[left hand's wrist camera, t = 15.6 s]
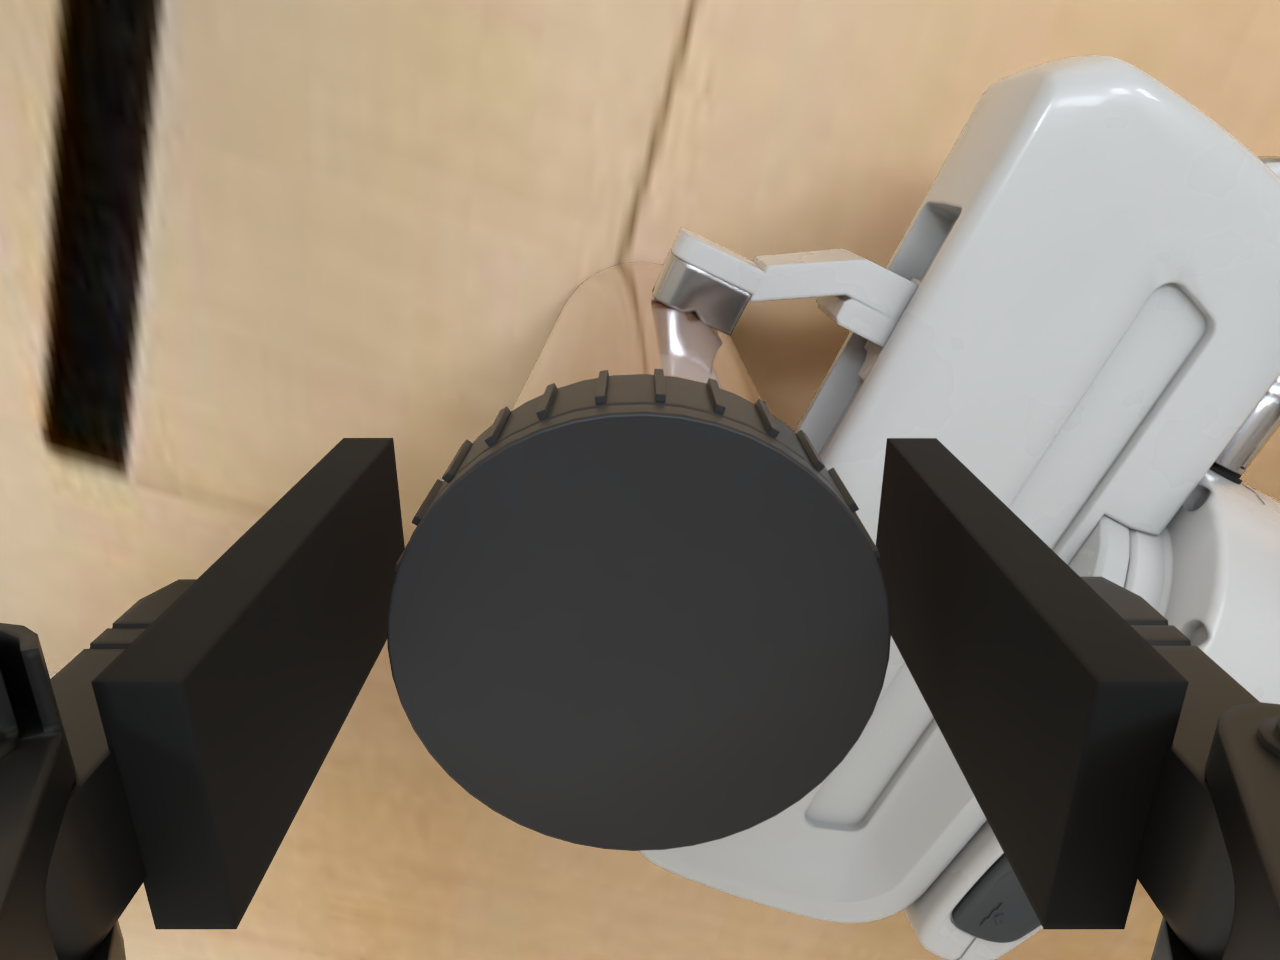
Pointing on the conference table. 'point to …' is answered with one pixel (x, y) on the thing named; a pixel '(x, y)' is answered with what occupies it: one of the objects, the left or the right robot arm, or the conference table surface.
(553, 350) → the jar
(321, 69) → the conference table surface
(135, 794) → the left robot arm
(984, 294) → the right robot arm
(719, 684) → the lid
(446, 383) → the conference table surface
